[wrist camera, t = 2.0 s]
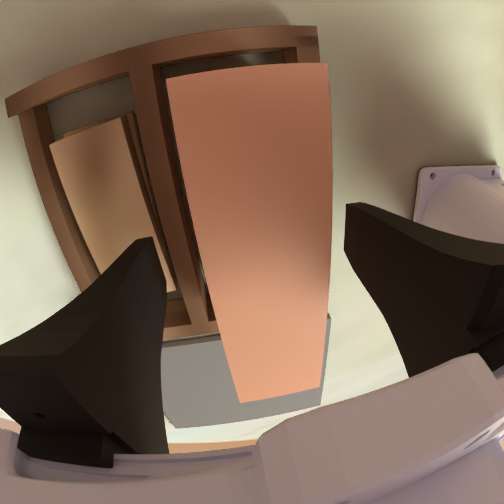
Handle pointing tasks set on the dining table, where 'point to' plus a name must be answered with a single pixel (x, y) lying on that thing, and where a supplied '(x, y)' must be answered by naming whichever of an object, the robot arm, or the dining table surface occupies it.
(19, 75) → the dining table surface
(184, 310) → the rack
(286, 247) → the salmon orange block
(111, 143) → the offcut top
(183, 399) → the mat
